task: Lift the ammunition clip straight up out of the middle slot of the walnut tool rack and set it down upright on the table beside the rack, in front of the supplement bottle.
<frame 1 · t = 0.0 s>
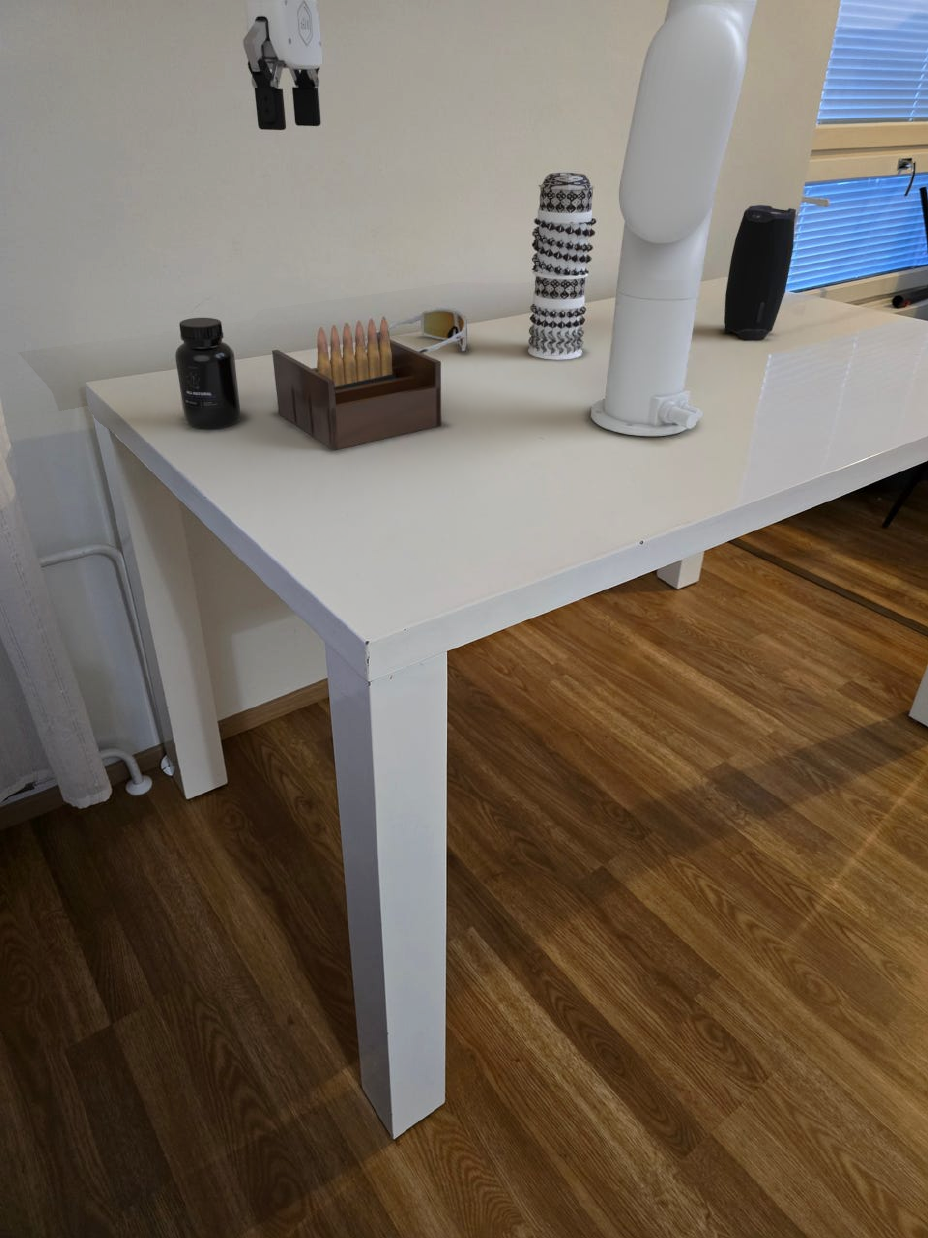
hand: (290, 127, 100), 31 cm above the table, tool pointing down, fingers open, 9 cm apart
decorative candle: (555, 353, 134), on the table
sunglasses: (420, 350, 134), on the table
supplement bottle: (214, 422, 106), on the table
rack: (358, 419, 106), on the table
ammunition clip: (358, 421, 107), resting in rack
portable speaker: (746, 335, 144), on the table
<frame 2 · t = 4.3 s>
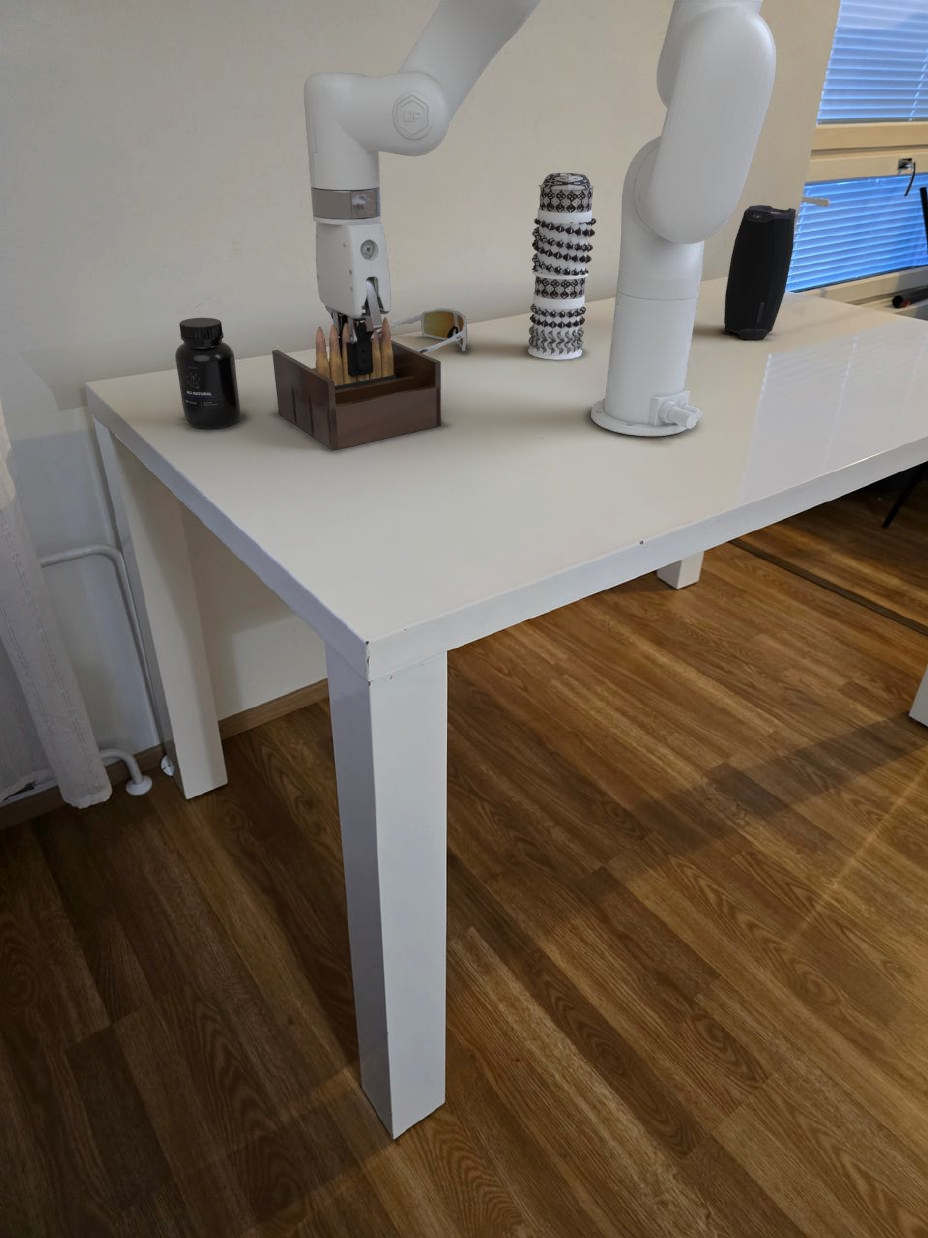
hand: (355, 370, 103), 6 cm above the table, tool pointing down, fingers closed on ammunition clip
ammunition clip: (358, 421, 107), resting in rack, touching gripper
everything else where it was.
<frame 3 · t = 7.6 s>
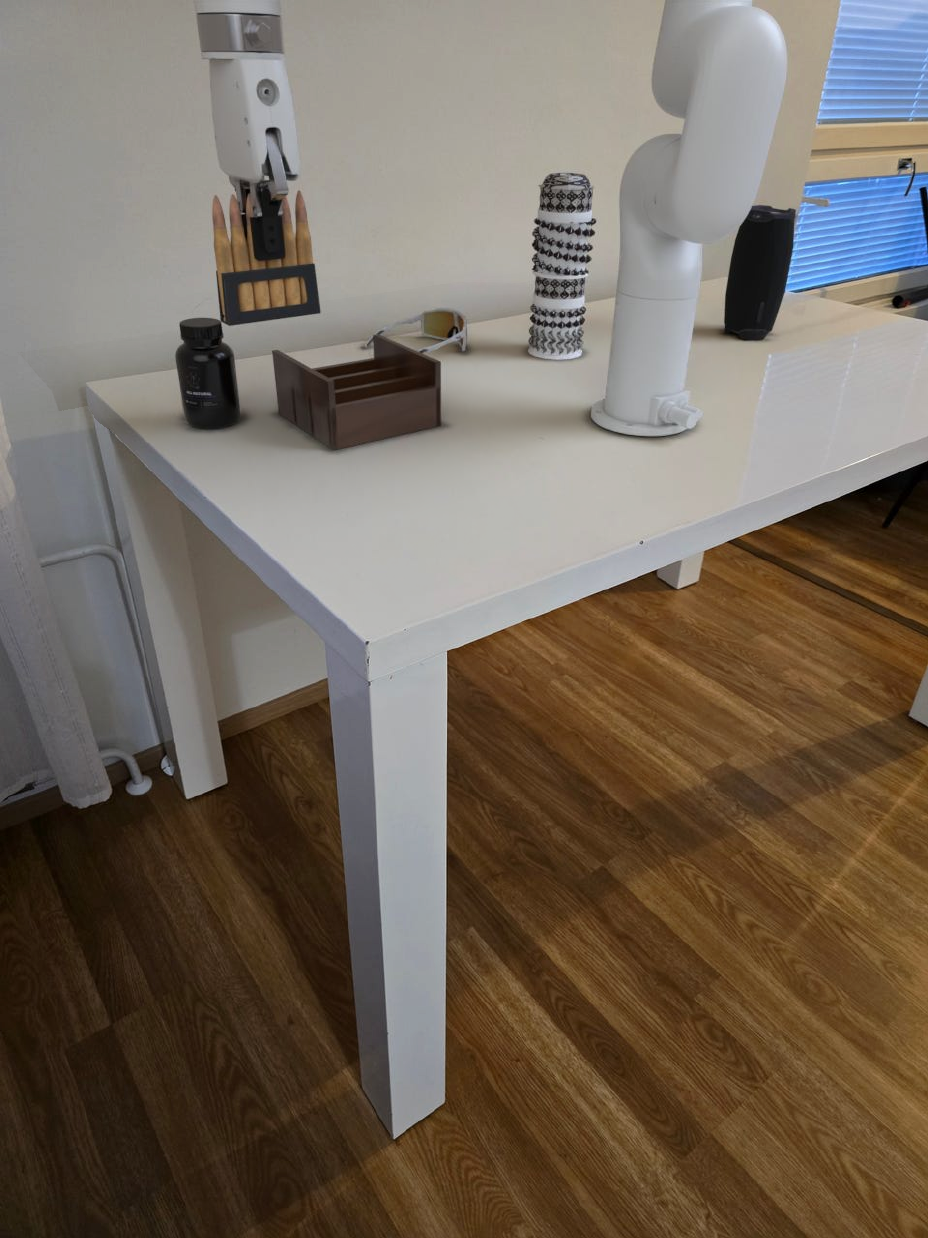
hand: (265, 255, 87), 21 cm above the table, tool pointing down, fingers closed on ammunition clip
ammunition clip: (272, 319, 90), point 14 cm above the table, touching gripper
everything else where it was.
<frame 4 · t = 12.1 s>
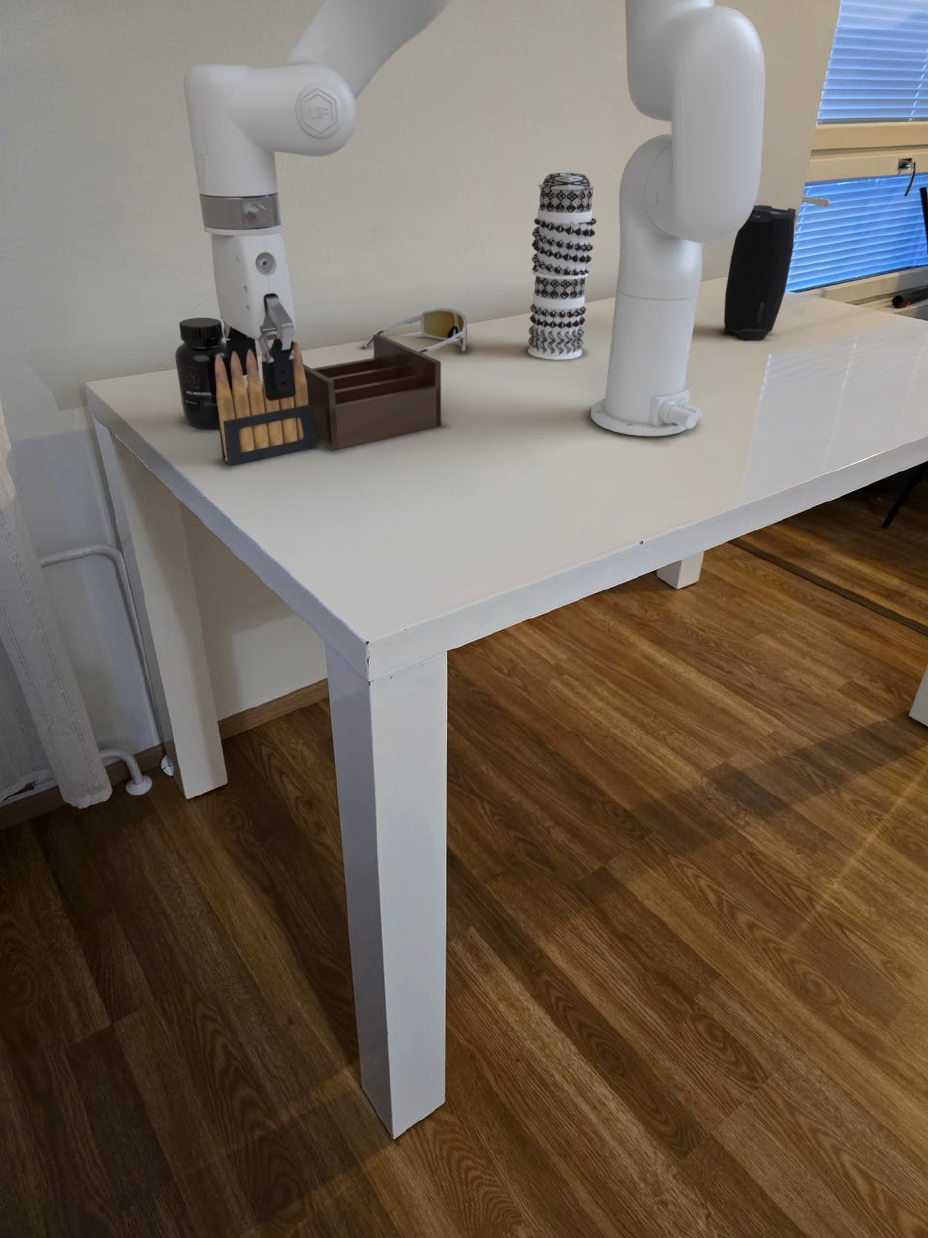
hand: (262, 385, 92), 8 cm above the table, tool pointing down, fingers open, 9 cm apart
ammunition clip: (270, 455, 97), on the table
everything else where it was.
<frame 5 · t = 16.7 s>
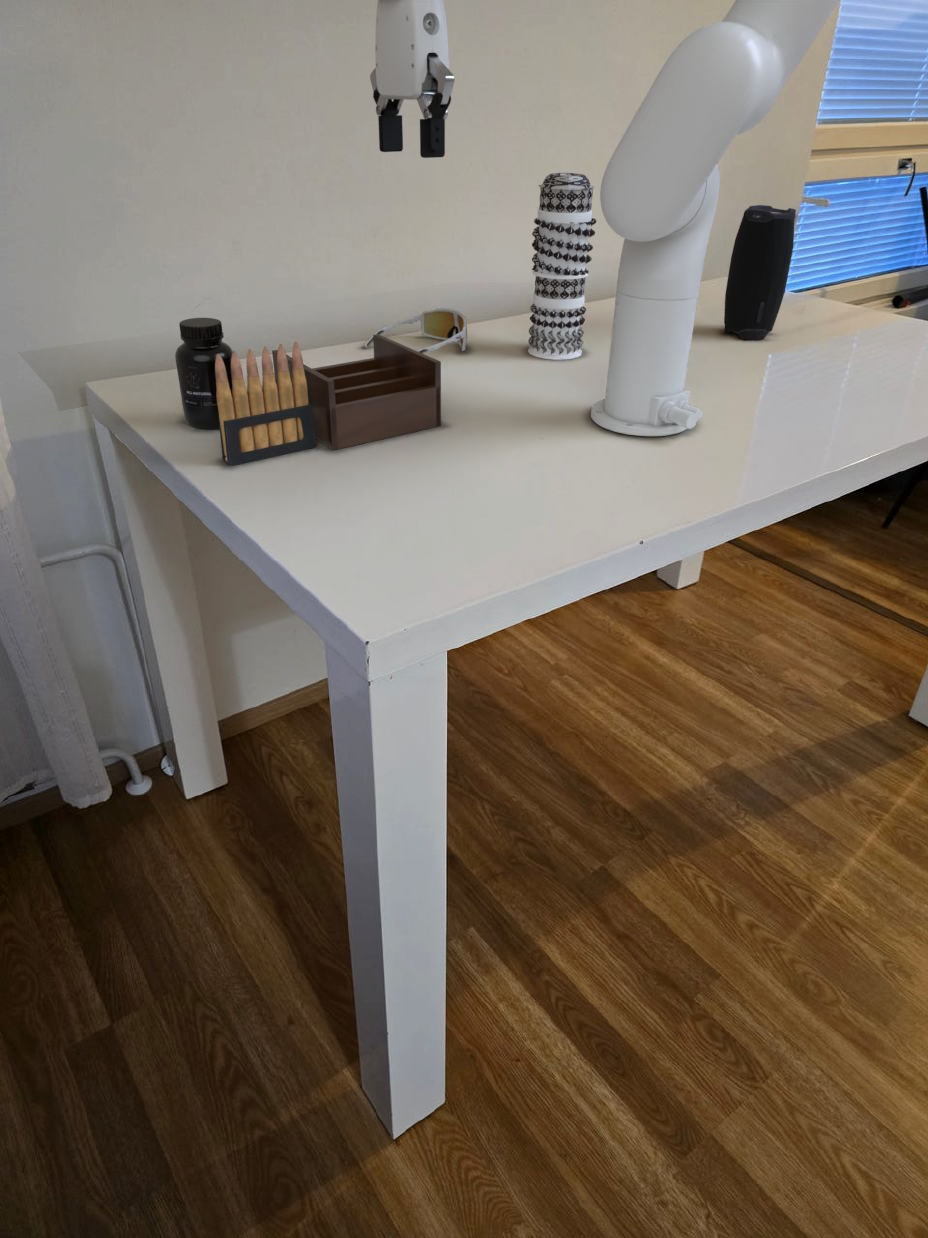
hand: (411, 154, 106), 28 cm above the table, tool pointing down, fingers open, 9 cm apart
nothing on the table moved.
at the end: ammunition clip inside the target area (0.5 cm from its centre), on the table; ammunition clip touching table; the gripper is holding nothing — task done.
